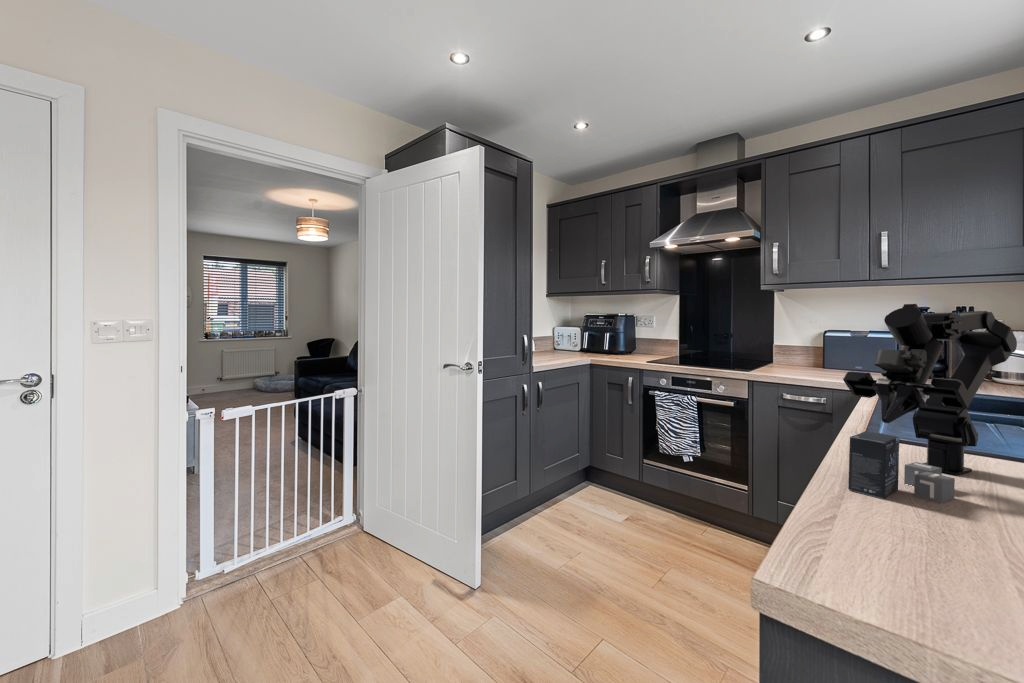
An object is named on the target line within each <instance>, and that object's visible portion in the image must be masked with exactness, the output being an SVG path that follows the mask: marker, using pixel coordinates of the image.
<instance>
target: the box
mask: <svg viewBox="0 0 1024 683" xmlns="http://www.w3.org/2000/svg"><path fill="white" fill-rule="evenodd" d="M848 450H849V451H848V452H849V454H848V455H849V458H848V485H847V487H848V490H849V491H851V492H855V493H859V494H863V495H866V496H870V497H874V498H878V499H881V500H884V499H885V498H887V497H889V496H890V495H891V494H893V493H894V492H897V491H898V490H899V471H900V470H899V466H900V465H899V464H900V436H896V435H890V434H885V433H879V432H873V431H867V430H865V431H862V432H860V433H858V434H854V435H852V436H850V437H849V449H848Z"/></svg>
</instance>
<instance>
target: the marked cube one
mask: <svg viewBox="0 0 1024 683" xmlns="http://www.w3.org/2000/svg"><path fill="white" fill-rule="evenodd" d="M922 463H923V462H922ZM922 463H921V462H917V461H916V462H912V463H907V464H904V474H903V475H904V479H903V480H904V483H903V484H904V485H905V484H908V485H907V486H909V485H912V486H914V480H915V474H919V473H923V472H931V473H935V474H939V475H943V474H942V473H943V472H942V468H940V467H935V466H931V465H926V464H922ZM912 486H911V487H912Z"/></svg>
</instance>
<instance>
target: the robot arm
mask: <svg viewBox="0 0 1024 683" xmlns="http://www.w3.org/2000/svg"><path fill="white" fill-rule="evenodd" d="M883 320H884V323H885V325H886V327H887V329H888V331H889V333H890V334H891V336H892V337H893V340H894V341H895V343H896V344H898V345H900V346H903V347H902V348H901V349H878V351H877V354H876V357H875V360H874V364H873V365H874V366H875V367H878V368H880V369H881V371H880V374H881V376H882V377H877V378H876V379H874V377H872V375H871V373H870V372H865V371H854V370H851V371H847V372H846V373H845V375H844V377H843V379H842V380H843V382H844V383H845V385H846V387H847V388H848V390H849V391H850V392H851V394H852V395H853V396H854V397H855V396H856V397H858V398H868V399H870V398H873V397H876V396H878V398H879V400H880V404H881V406H880V407H881V409H880V410H881V412H880V413H881V422H883V424H890V423H892V422H894V421H895V420H898V419H899V418H901V417H903V416H904V415H907V414H909V413H911V412H913V411H915V412H914V413H913V416H912V423H913V428H914V433H915V438H916V439H924V440H926V441H927V442H926V443H927V444H926V446H927V447H926V448H927V449H926V462H922V464H926V465H931V466H935V467H940V468H942V473H944V474H945V473H946V474H951V475H955V476H958V475H963V474H966V473H970V472H973V469H972V468H969V467H966V466H965V447H967V448H968V447H978V441H979V433H978V431H977V430H976V428H975V425H974V424H973V422H972V419H971V417H970V414H969V410H968V409H969V407H970V404H971V403H972V401H973V399H974V398H975V396H976V394H977V392H978V391H979V389H980V387H981V385H982V383H984V382H983V381H984V380H985V378H986V376H987V375H988V373H989V372H990V370H991V368H992V367H994V366H997V365H1000V364H1002V363H1005V362H1007V361H1008V359H1009V358H1010V357H1011V355H1012V354H1013V353H1014V352H1016V350H1017V347H1018V341H1017V338H1016V336H1015V333H1014V331H1013V329H1012V328H1011V326H1009V325H1006V324H1005V323H1003V322H1002V321H1000V320H998V319H996V317H995V315H994V313H993V312H992V311H987V310H979V311H978V310H973V311H972V310H970V311H963V312H959V313H956V312H929V313H927V312H926V313H925V312H922V311H921V310H920V308H919V306H918V304H917V303H905V304H903V306H902V307H901V308H897V309H895V310H893V311H891V312H889V313H888V314H886V315H885V317H884V319H883ZM976 330H986V331H976ZM954 340H956V342H957V344H958V345H959V348H960V351H961V352H962V355H963V357H962V358H961V360H960V362H959V363H958V365H957V367H956V368H955V370H954V371H953V372H952V375H951V376H950V378H941V377H934V376H935V375H934V373H933V370H934V368H935V365H936V363H937V362H938V360H944V359H945V354H944V351H943V349H944V346H943V344H942V342H941V341H949V342H950V341H954ZM928 380H931V381H930V383H927V381H928Z"/></svg>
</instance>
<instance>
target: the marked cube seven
mask: <svg viewBox="0 0 1024 683" xmlns="http://www.w3.org/2000/svg"><path fill="white" fill-rule="evenodd" d="M955 479H956V478H955V477H951V476H948V475H947V476H946V475H943V474H942V475H939V474H935V473H931V472H923V473H919V474H915V480H914V487H913V488H914V489H913V492H914V494H913V496H915V497H919V498H923V499H926V500H929V501H931V502H936V503H940V504H945V503H947V502H951V501H954V500H955V483H956V481H955Z"/></svg>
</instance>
